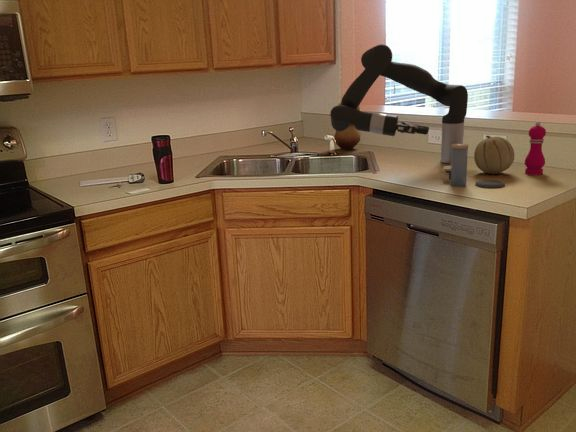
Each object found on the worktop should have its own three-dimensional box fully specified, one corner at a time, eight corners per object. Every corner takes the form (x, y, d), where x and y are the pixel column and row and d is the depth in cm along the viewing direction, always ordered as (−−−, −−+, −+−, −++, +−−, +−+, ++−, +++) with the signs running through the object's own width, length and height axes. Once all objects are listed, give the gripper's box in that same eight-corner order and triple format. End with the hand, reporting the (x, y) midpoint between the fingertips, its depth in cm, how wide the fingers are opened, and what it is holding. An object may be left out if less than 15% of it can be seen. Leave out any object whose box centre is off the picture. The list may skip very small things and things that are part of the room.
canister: (450, 183, 199) (451, 143, 195) (466, 183, 198) (468, 143, 194) (449, 186, 194) (451, 146, 190) (466, 187, 192) (468, 146, 188)
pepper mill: (544, 172, 209) (548, 120, 204) (544, 175, 203) (548, 122, 198) (524, 171, 212) (528, 120, 207) (523, 175, 206) (527, 122, 200)
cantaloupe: (514, 177, 202) (517, 138, 198) (473, 177, 207) (475, 138, 202) (511, 169, 216) (513, 132, 212) (472, 169, 220) (474, 133, 216)
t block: (443, 178, 207) (443, 166, 206) (456, 178, 206) (457, 166, 204) (443, 181, 202) (443, 168, 201) (456, 182, 201) (457, 169, 200)
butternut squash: (354, 152, 274) (353, 102, 267) (330, 150, 280) (329, 102, 273) (364, 147, 285) (364, 99, 278) (341, 146, 292) (340, 100, 285)
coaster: (475, 181, 200) (475, 180, 199) (503, 182, 197) (503, 180, 197) (475, 187, 191) (475, 186, 190) (505, 188, 188) (506, 186, 187)
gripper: (383, 115, 190) (429, 121, 186) (387, 113, 203) (430, 119, 199) (379, 136, 192) (425, 142, 188) (384, 133, 205) (427, 139, 201)
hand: (428, 130), depth 193 cm, fingers open, 8 cm apart
